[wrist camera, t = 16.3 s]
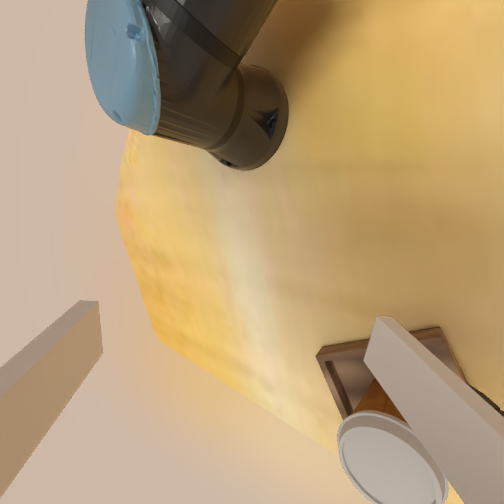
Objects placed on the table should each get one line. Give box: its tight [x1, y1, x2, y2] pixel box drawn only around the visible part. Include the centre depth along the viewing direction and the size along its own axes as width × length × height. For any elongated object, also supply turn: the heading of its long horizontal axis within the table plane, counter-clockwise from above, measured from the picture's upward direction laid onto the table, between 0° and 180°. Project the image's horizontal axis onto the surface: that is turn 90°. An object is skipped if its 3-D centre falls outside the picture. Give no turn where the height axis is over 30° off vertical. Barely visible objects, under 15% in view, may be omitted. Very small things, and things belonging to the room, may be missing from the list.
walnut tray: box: [316, 327, 468, 421], centre depth 32 cm, size 16×16×3 cm
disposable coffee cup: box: [337, 378, 449, 504], centre depth 28 cm, size 10×10×12 cm
